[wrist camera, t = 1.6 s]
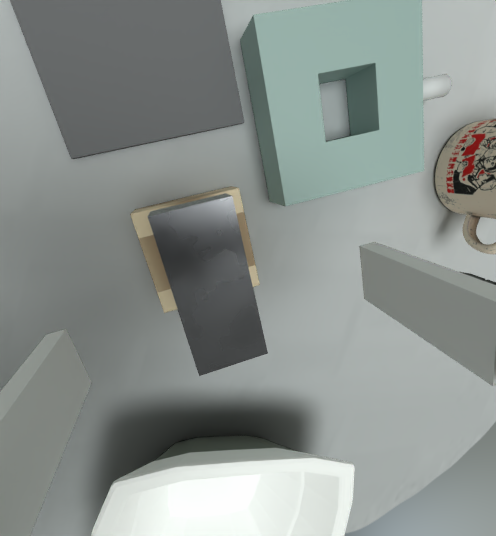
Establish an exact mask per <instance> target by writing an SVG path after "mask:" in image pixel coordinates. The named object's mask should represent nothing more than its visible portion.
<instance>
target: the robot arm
mask: <svg viewBox="0 0 496 536" xmlns="http://www.w3.org/2000/svg"><path fill="white" fill-rule="evenodd" d="M359 247H360V258H361V268H362V279H363V290H364V299H365V300H367V301H368V302H370V303H371V304H373V305H374V306H376V307H377V308H379V309H380V310H382V311H383V312H385V313H386V314H387V315H389V316H390V317H392V318H393V319H395V320H396V321H398V322H399V323H401V324H402V325H404V326H405V327H407V328H408V329H410V330H411V331H412V332H414V333H415V334H417V335H418V336H420V337H421V338H423V339H424V340H426V341H427V342H429V343H430V344H432V345H433V346H435V347H436V348H437V349H439V350H440V351H442V352H443V353H445V354H446V355H448V356H449V357H451V358H452V359H454V360H455V361H457V362H458V363H460V364H461V365H463V366H464V367H465V368H467V369H468V370H470V371H471V372H473V373H474V374H476V375H477V376H479V377H480V378H482V379H483V380H485V381H486V382H488V383H489V384H490V385H492V386H494V385H496V282H493V281H490V280H485V279H484V278H481V277H478V276H476V275H473V274H469V273H463V272H458V271H455V270H452V269H449V268H446V267H444V266H441V265H438V264H435V263H432V262H430V261H427V260H424V259H421V258H418V257H415V256H413V255H410V254H407V253H404V252H401V251H399V250H396V249H393V248H390V247H387V246H385V245H382V244H379V243H376V242H372V243H368V244H365V245H361V246H359ZM91 384H92V382H91V380H90V378H89V376H88V374H87V372H86V369H85V367H84V365H83V363H82V361H81V359H80V357H79V355H78V353H77V350H76V348H75V346H74V344H73V342H72V340H71V338H70V336H69V334H68V332H67V329H64V330H60V331H57V332H53V333H49V334H46V336H45V337H44V338H43V339H42V341H41V342H40V343H39V344H38V345H37V347H36V348H35V349H34V350H33V352H32V353H31V354H30V355H29V357H28V358H27V359H26V360H25V362H24V363H23V364H22V365H21V367H20V368H19V369H18V370H17V372H16V373H15V374H14V375H13V377H12V378H11V379H10V380H9V382H8V383H7V384H6V385H5V387H4V388H3V389H2V390H1V392H0V536H30V535H31V532H32V530H33V527H34V525H35V522H36V520H37V517H38V515H39V513H40V510H41V508H42V505H43V503H44V500H45V498H46V495H47V493H48V490H49V488H50V485H51V483H52V480H53V478H54V475H55V473H56V470H57V468H58V465H59V463H60V460H61V458H62V456H63V453H64V451H65V448H66V446H67V443H68V441H69V438H70V436H71V433H72V431H73V428H74V426H75V423H76V421H77V418H78V416H79V413H80V411H81V408H82V406H83V404H84V401H85V399H86V396H87V394H88V391H89V389H90V386H91Z"/></svg>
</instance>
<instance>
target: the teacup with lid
mask: <svg viewBox="0 0 496 536" xmlns="http://www.w3.org/2000/svg"><path fill="white" fill-rule="evenodd" d="M435 185H436V190H437V194H438V196H439V198H440V200H441V202H442V203H443V204H444V205H445V206H446V207H447V208H448V209H450V210H451V211H453V212H456V213H460V214H467V216H466V218H465V221H464V224H463V236H464V238H465V240H466V242H467V243H468V244H469V245H470V246H471V247H472V248H474V249H476V250H478V251H480V252H483V253H487V254H496V243H494V244H490V245H485V244H483V243H481V242H480V241H479V239H478V237H477V235H476V228H477V224H478V222H479V219H480V217H487V218H494V219H496V119H491V120H484V121H479V122H474V123H471V124H469V125H467V126H465V127H463V128H462V129H460V130H459V131H458V132H457V133H455V134H454V135H453V136H452V137H451V139H450V140H449V141H448V142H447V144H446V145H445V147H444V149H443V150H442V152H441V154H440V157H439V160H438V163H437V167H436V172H435Z"/></svg>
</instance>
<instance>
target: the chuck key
mask: <svg viewBox="0 0 496 536" xmlns="http://www.w3.org/2000/svg"><path fill="white" fill-rule="evenodd" d="M148 219H149V223H150V226H151V229H152V232H153V235H154V238H155V241H156V244H157V247H158V250H159V253H160V256H161V259H162V263H163V266H164V269H165V272H166V275H167V278H168V281H169V284H170V287H171V290H172V293H173V296H174V299H175V303H176V306H177V309H178V312H179V315H180V318H181V321H182V324H183V327H184V330H185V333H186V336H187V339H188V343H189V346H190V349H191V352H192V355H193V358H194V361H195V364H196V367H197V370H198V373H199V376H200V375H203V374H207V373H210V372H213V371H216V370H219V369H222V368H225V367H228V366H231V365H234V364H237V363H240V362H243V361H246V360H249V359H252V358H255V357H258V356H261V355H264V354H267V353H268V352H267V348H266V344H265V339H264V335H263V330H262V326H261V321H260V317H259V312H258V308H257V303H256V299H255V295H254V290H253V286H252V281H251V277H250V272H249V268H248V263H247V259H246V254H245V250H244V246H243V241H242V237H241V232H240V228H239V223H238V219H237V214H236V210H235V206H234V201H233V197H232V196H231V195H229V194H226V193H224V194H220V195H216V196H212V197H208V198H204V199H200V200H196V201H191V202H187V203H183V204H179V205H175V206H171V207H167V208H163V209H158V210H154V211H150V213H149V215H148Z"/></svg>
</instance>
